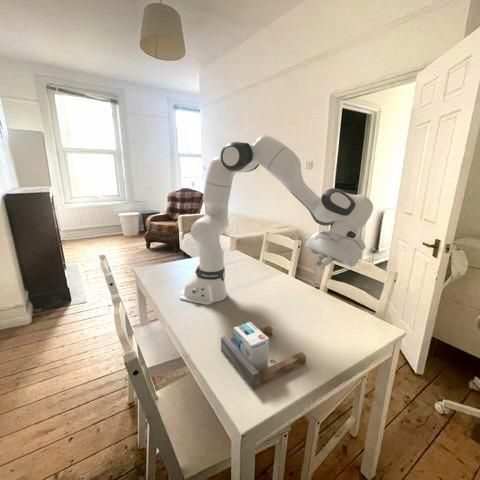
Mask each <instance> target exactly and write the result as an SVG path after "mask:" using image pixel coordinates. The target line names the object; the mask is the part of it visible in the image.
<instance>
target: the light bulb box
mask: <svg viewBox="0 0 480 480" xmlns="http://www.w3.org/2000/svg"><path fill="white" fill-rule="evenodd" d="M259 329H260V328H258V327H257V326H256V325H254V323H253V322H251V321H248V322H246V323H242V324H240V325H237V326H234V327H233V328H232V330H233V331H232V333H233V334H232V336H233V338H232V339H233V344H234V345H235V346H236V347H237V348H238V350H239V351H240V352H241V353H242V354H243V355H244V356H245V357H246V358H247V360H248V361H249V362H250V363H251V364H252V365H253V366H254V367H255V368H256V370H257V371H258V372H259V371H262V370H264V369H266V368H268V367H269V366H268V365H269V349H270V348H269V346H270V344H269V343H270V337H267V336H266V335H265V334H263V333H262V332H261V331H260V330H259Z"/></svg>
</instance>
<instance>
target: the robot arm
mask: <svg viewBox="0 0 480 480" xmlns="http://www.w3.org/2000/svg"><path fill="white" fill-rule="evenodd" d="M259 166H261V167H263V168H264V169H265V170H266V171H267V172H269V173H270V174H271V175H272V176H274V177H275V178H276V179H277V180H278V181H279V182H280V183H281V184H282V185H283V186H284V187H285V188H286V189H287V190H288V191H289V192H290V194H292V196H294V197H295V199H297V200H298V201H299V202H300V203H301V204H302V205H303V206H304V207H305V208H306V209H307V211H308V212H309V213H310V215H311V217H312V219H313V220H314V223H316V224H318V225H320V226H325V227H326V226H327V227H328V226H330V228H329V229H328V231H324V230H319V231H317V232H315V233H314V234H312V236H311V237H310V238H309V239H307V241H306V242H305V244H304V248H305V249H306V250H307V252H309V253H312V254H314V255H317V258H316V261H315V263H314V266H315V267H316V268H319V269H321V270H324V269H325V268H326V266H329V265H330V264H333V262H336V263H339V264H341V265H344V266H348V267H350V268H353V267H355V266H356V265H357V263H358V262H359V261H360V260H361V258H362V255H363V251H364V250H365V249H366V244H365V242H364V240H363V239H362V237H361V235H359V233H360V231H361V230H362V229H363V228H364V227H365V226H366V224H367V223H368V221H369V219H370V217H371V216H372V214H373V211H374V205H373V202H372V201H371V199H370V198H369V197H367V195H366V196H365V195H363V194H352V193H348V192H345V191H344V190H342V189H340V188H336V187H335V188H334V187H333V188H328V189H327V190H325V191H324V192H323V193H322V195H321V196H319V195H317V194H316V192H315V191H313V189H311V188H310V187H309V186H308V184H307V183H306V182H305V181H304V178H303V174H302V164H301V159H300V158H299V156H298V155H297V154H296V153H295V152H294V151H293V150H292V149H290V147H288V146H287V145H285V143H283V142H281V141H279V140H278V139H276V138H274V137H273V136H271V135H268V134H262V135H261V136H259V137H258V138H257V139H256V140H255V142H253V143H252V144H249V143H248V142H240V141H234V142H233V141H232V142H229V143H226V144H225V145H224V146H223V147H222V149H221V152H220V156H215V157H213V158H212V159H211V161H210V162H209V166H208V170H207V171H206V172H207V173H206V176H205V183H204V188H203V189H204V190H203V196H202V201H203V203H204V215H203V216H202V217H200V218H198V219H197V220H196V221H194V223H193V224H192V225H191V227H190V235H191V238H192V239H193V240H194V241H195V243H196V245H197V249H198V255H199V256H198V257H199V264H198V265H197V267H196V268H195V271H194V274H195V275H193V276H192V277H190V278H189V279H188V280H187V281H186V283H185V284H184V288H183V289H182V290H181V291H180V294H179V300H180V301H186V302H190V303H196V304H201V305H212V304H213V303H218V302H221V301H224V300H225V299H226V298H227V297H228V291H227V287H226V283H225V282H226V281H225V278H226V269H225V268H226V267H225V265H224V264H225V261H224V260H225V259H224V256H225V255H224V254H225V252H224V250H223V248H222V245H221V240H220V239H221V238H220V237H221V236H222V235H223V234H225V233H226V232H227V229H228V227H229V217H228V216H229V215H228V214H229V200H230V196H231V190H232V184H233V180H234V179H233V178H234V176H235V175H236V173H249V172H252V171H255V170H257V168H259ZM324 259H325V260H324ZM322 260H324V261H322Z"/></svg>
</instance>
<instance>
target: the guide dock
mask: <svg viewBox="0 0 480 480" xmlns="http://www.w3.org/2000/svg"><path fill="white" fill-rule="evenodd" d="M258 329H259V330H260V331H261V332H262V333H263V334H265V335H266V336H267V337H268V338H270V337H272V336H273V327H272V326H270V325H266V326H264V327H261V328H258ZM220 351H221V353H222V354H223V355H224V356H225V358H226V359H227V360H228V361H229V363H230V364H231V365H232V366H233V368H234V369H235V370H236V371H237V373H238V374H239V375H240V376H241V377H242V379H243V380H244V381H245V382H246V384H247V385H248V386H249V388H250V389H251V390H252V391H253V390H255V389H258V388H259V387H261V386H263V385H265V384H268V383H270V382H271V381H274V380H275V379H278V378H279V377H281V376H284V375H286V374H288V373H289V372H291V371H294V370H296V369H298V368H300V367H302V366H304V365H306V362H307V361H306V360H307V355H306V354H305V353H304V352H302V351H301V352H299V353H296V354H294V355H292V356H290V357H288V358H286V359H285V358H284V359H283V360H280V361H279V362H277V363H275V364H273V365H271V366H268V368H266V369H264V370H262V371H259V372H258V371H257V370H256V368H255V367H254V366H253V365H252V364H251V363H250V362H249V361H248V360H247V358H246V357H245V356H244V355H243V354H242V353H241V352H240V351H239V350H238V348H237V347H236V346H235V345H234V344H233V338H231V339H229V337H228V336H227V335H225V336H222V337H220Z"/></svg>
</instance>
